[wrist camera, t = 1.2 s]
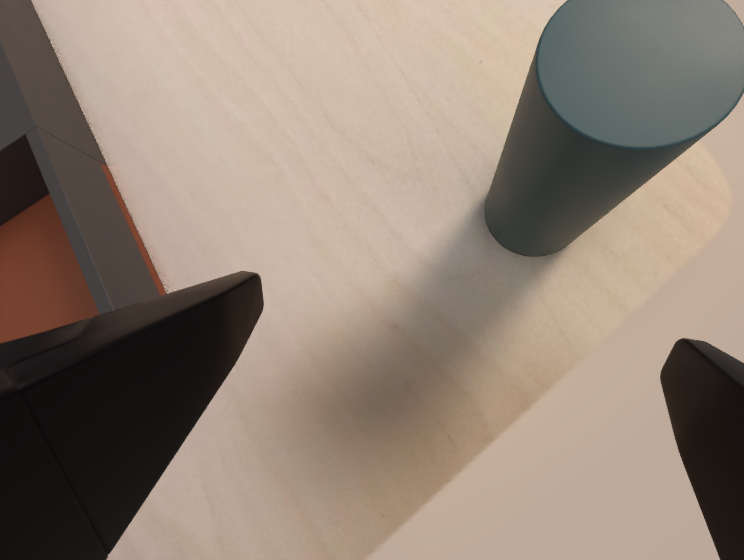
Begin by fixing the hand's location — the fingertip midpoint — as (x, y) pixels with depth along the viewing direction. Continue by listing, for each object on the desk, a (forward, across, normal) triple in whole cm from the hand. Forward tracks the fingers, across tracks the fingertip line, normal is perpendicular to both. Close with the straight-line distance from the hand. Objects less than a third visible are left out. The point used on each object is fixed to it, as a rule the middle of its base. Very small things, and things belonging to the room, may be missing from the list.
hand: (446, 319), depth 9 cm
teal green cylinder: (+15, -4, +2) cm, 16 cm away
